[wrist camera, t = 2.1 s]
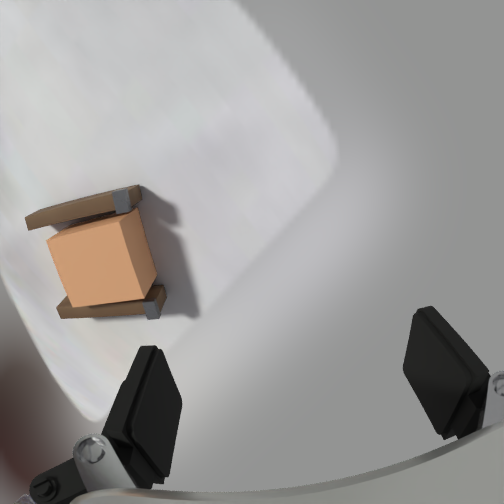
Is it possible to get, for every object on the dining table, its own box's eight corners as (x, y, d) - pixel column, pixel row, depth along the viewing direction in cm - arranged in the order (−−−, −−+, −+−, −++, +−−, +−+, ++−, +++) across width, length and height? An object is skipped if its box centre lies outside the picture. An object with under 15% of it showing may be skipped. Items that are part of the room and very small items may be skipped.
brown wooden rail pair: (39, 207, 22) (20, 217, 19) (138, 182, 22) (124, 189, 19) (72, 306, 26) (58, 324, 23) (167, 298, 25) (159, 318, 23)
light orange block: (70, 225, 23) (46, 240, 19) (137, 207, 23) (119, 221, 19) (91, 285, 25) (72, 307, 21) (157, 274, 25) (144, 298, 21)
